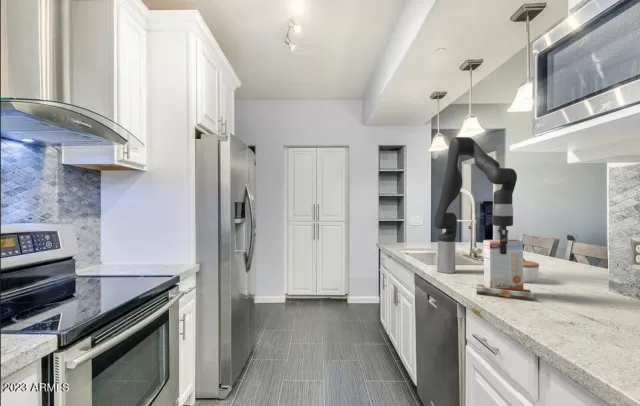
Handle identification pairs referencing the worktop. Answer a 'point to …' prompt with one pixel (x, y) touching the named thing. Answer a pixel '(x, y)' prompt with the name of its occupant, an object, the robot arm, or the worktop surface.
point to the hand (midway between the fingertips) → (502, 252)
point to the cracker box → (503, 265)
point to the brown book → (506, 293)
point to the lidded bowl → (530, 271)
